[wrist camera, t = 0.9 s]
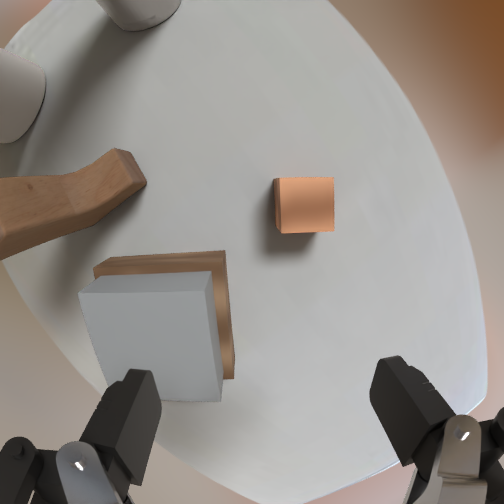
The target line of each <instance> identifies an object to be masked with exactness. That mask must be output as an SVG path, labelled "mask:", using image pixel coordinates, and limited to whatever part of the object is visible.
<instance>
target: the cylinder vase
mask: <svg viewBox="0 0 504 504" xmlns="http://www.w3.org/2000/svg"><path fill="white" fill-rule="evenodd" d="M45 86H46V79H45V74H44V71H43V69H42V68H41V67H40V66H39V65H37V64H35V63H33V62H31V61H29V60H27V59H24V58H22V57H20V56H18V55H16V54H13V53H11V52H9V51H6V50H4V49H2V48H0V143H11V142H14V141H16V140H17V139H19V138H20V137H21V136H22V135H23V134H24V133H25V132H26V131H27V130H28V128H29V127H30V126H31V124H32V123H33V121H34V119H35V118H36V116H37V114H38V112H39V109H40V107H41V104H42V101H43V98H44V93H45Z"/></svg>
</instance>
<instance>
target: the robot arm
mask: <svg viewBox="0 0 504 504" xmlns="http://www.w3.org/2000/svg"><path fill="white" fill-rule="evenodd" d="M96 1H97V3H98V4H99V5H100V6H101V7H102V8H103V9H104V10H105V12H106V13H107V14H108V15H109V16H110V17H111V18H112V20H113V21H114V22H115V23H116V24H117V25H118V26H119V27H120V28H121V29H124V30H127V31H139V30H144V29H147V28H151V27H153V26H155V25H158V24H159V23H161V22H163V21H164V20H166V19H167V18H168V17H170V16H171V15H172V14H173V13H174V12H175V11H176V10H177V8H178V7H179V5H180V2H181V0H96ZM370 402H371V405H372V407H373V409H374V411H375V412H376V414H377V416H378V418H379V420H380V422H381V424H382V426H383V428H384V430H385V432H386V434H387V436H388V438H389V440H390V442H391V444H392V446H393V448H394V450H395V452H396V454H397V456H398V458H399V460H400V462H401V464H402V466H403V467H404V466H407V465H409V464H412V463H415V465H416V468H415V470H414V472H413V475H412V478H411V481H410V484H409V487H408V490H407V493H406V496H405V498H404V501H403V504H504V469H503V468H502V466H501V464H500V463H499V461H498V459H500V457H501V456H502V455H503V454H504V407H503V408H502V409H501V410H500V411H499V412H498V414H497V416H496V417H495V418H494V419H492V420H487V421H482V422H477V421H476V419H474V418H473V417H471V416H468V415H462V414H461V415H456V414H455V413H454V411H453V410H452V409H451V407H450V406H449V405H448V404H447V402H446V401H445V400H444V399H443V397H442V396H441V395H440V394H439V392H438V391H437V390H435V387H434V386H433V385H432V384H431V383H429V380H428V379H427V377H426V376H425V375H424V374H423V373H422V372H421V371H419V370H418V369H416V368H415V367H413V366H408V365H407V363H406V362H405V361H404V360H403V358H402V357H401V356H393V357H388V358H383V359H380V360H379V361H378V363H377V367H376V370H375V374H374V378H373V381H372V384H371V388H370ZM161 410H162V407H161V400H160V397H159V393H158V390H157V387H156V383H155V380H154V376H153V373H152V372H151V371H150V370H142V369H132V368H131V369H129V370H128V372H127V373H126V375H125V377H124V379H123V381H116V382H114V383H113V384H112V385H111V386H110V387H108V388H107V389H106V391H105V393H104V395H103V396H102V398H101V401H100V402H99V404H98V405H97V409H95V411H94V413H93V415H92V417H91V418H90V421H89V422H88V424H87V426H86V428H85V430H84V432H83V434H82V436H81V438H80V439H79V441H74V442H69V443H67V444H65V445H63V446H62V447H61V448H60V449H59V451H53V450H41V449H36V448H35V446H34V445H33V444H32V442H30V441H29V440H28V439H27V438H24V437H14V438H12V439H10V440H8V441H7V442H6V443H5V445H4V446H3V448H2V450H1V452H0V504H28V501H29V499H30V496H31V493H32V491H33V490H34V491H35V492H34V495H33V498H32V500H31V503H30V504H135V503H134V502H133V500H132V498H131V496H130V495H129V493H128V489H129V486H130V484H134V485H139V486H141V485H142V481H143V477H144V473H145V470H146V466H147V462H148V459H149V455H150V452H151V448H152V444H153V441H154V437H155V434H156V431H157V427H158V424H159V420H160V417H161Z"/></svg>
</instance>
